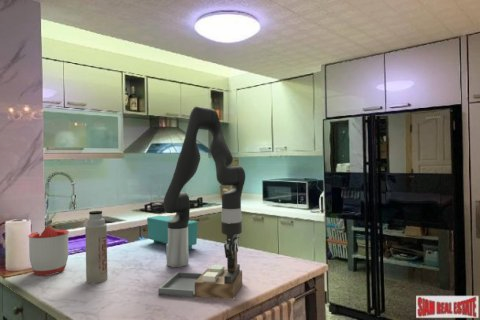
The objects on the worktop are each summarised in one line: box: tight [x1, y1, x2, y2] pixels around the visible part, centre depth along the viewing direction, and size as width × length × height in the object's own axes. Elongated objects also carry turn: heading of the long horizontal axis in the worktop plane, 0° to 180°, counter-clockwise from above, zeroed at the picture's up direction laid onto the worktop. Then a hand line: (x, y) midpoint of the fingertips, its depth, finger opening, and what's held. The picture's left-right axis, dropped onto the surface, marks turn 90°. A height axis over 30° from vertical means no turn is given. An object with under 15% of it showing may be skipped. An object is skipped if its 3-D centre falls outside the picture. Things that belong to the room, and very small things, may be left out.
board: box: [194, 267, 243, 300], centre depth 129 cm, size 14×16×5 cm
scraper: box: [224, 250, 241, 284], centre depth 128 cm, size 3×14×10 cm, turn 168°
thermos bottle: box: [84, 210, 109, 284], centre depth 141 cm, size 8×8×28 cm
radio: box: [146, 215, 199, 251], centre depth 194 cm, size 34×10×15 cm, turn 49°
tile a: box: [203, 272, 219, 282], centre depth 125 cm, size 4×4×2 cm
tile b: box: [210, 264, 225, 275], centre depth 133 cm, size 4×4×2 cm
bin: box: [157, 271, 204, 299], centre depth 132 cm, size 13×18×2 cm
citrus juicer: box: [27, 226, 69, 277], centre depth 153 cm, size 16×17×20 cm
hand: (232, 266), depth 128 cm, fingers closed on scraper, 3 cm apart
